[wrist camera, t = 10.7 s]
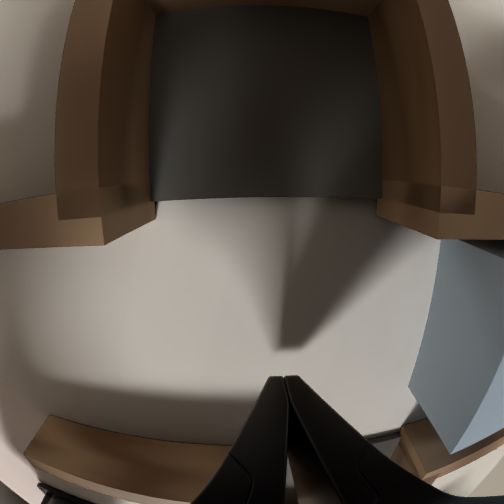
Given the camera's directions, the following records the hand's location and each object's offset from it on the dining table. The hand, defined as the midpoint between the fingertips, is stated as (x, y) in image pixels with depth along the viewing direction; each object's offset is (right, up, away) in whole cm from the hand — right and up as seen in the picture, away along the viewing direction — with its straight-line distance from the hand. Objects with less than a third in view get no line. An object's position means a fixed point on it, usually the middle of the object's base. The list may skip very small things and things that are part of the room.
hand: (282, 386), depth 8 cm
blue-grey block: (+8, +2, +1) cm, 8 cm away
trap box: (+1, +1, +1) cm, 2 cm away
